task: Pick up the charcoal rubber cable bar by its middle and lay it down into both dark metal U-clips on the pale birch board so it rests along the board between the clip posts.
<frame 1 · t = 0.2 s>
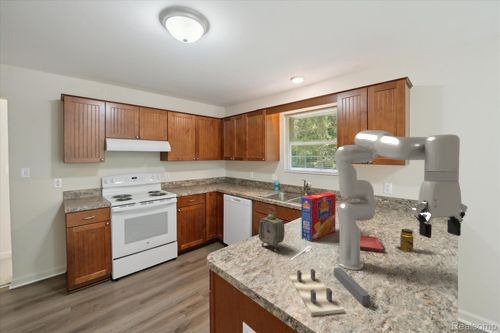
hand: (439, 235, 63), 31 cm above the counter, tool pointing down, fingers open, 9 cm apart
cable bar: (350, 289, 88), on the counter
condiment: (404, 250, 124), on the counter
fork: (300, 254, 120), on the counter
tabletop clock: (271, 247, 129), on the counter
pasta box: (319, 235, 148), on the counter
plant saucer: (363, 246, 131), on the counter
clip board: (313, 292, 86), on the counter
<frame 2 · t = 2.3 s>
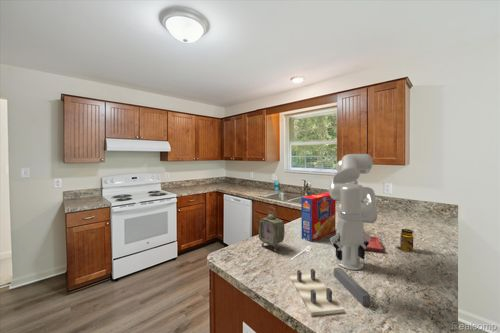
hand: (350, 258, 87), 13 cm above the counter, tool pointing down, fingers open, 9 cm apart
nothing on the counter moved.
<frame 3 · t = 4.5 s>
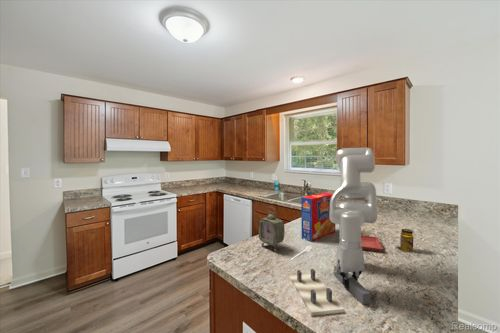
hand: (350, 286, 88), 1 cm above the counter, tool pointing down, fingers closed on cable bar, 3 cm apart
cable bar: (350, 287, 88), on the counter, touching gripper
everything else where it was.
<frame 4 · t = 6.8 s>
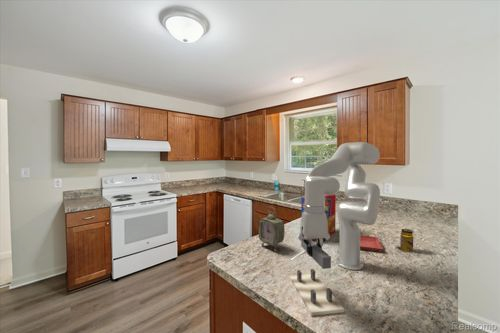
hand: (314, 254, 85), 16 cm above the counter, tool pointing down, fingers closed on cable bar, 3 cm apart
cable bar: (314, 255, 85), point 15 cm above the counter, touching gripper
everything else where it was.
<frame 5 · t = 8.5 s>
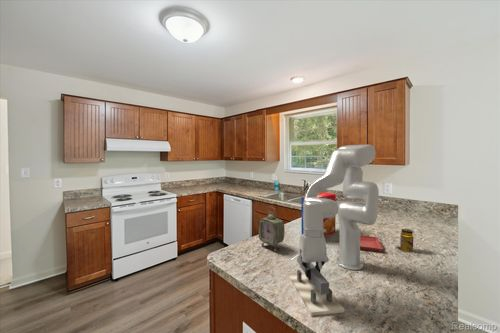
hand: (312, 277, 85), 6 cm above the counter, tool pointing down, fingers closed on cable bar, 3 cm apart
cable bar: (312, 278, 85), point 6 cm above the counter, touching gripper
everything else where it was.
when the fingers open (3 cm above the counter, at t = 9.8 s): cable bar drops 1 cm, resting on clip board.
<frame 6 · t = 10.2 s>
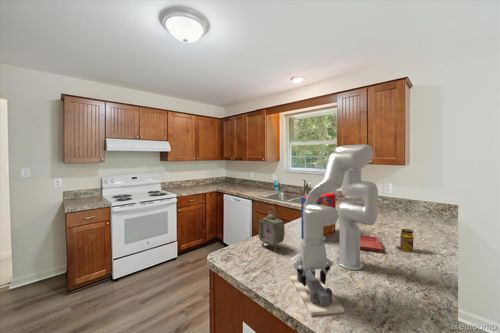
hand: (313, 283, 85), 4 cm above the counter, tool pointing down, fingers open, 7 cm apart
cable bar: (313, 289, 85), point 1 cm above the counter, touching clip board
everything else where it was.
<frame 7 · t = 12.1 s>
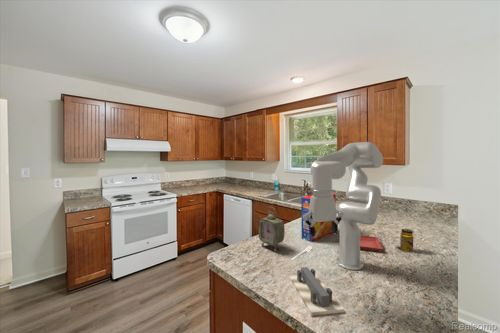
hand: (323, 234, 88), 22 cm above the counter, tool pointing down, fingers open, 9 cm apart
nothing on the counter moved.
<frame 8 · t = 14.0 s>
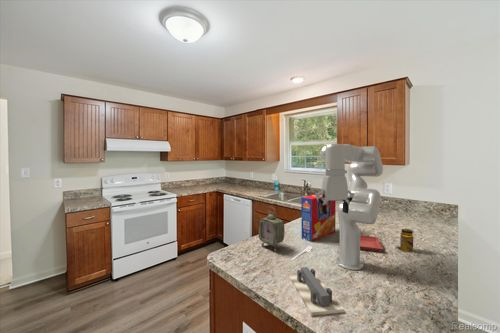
hand: (334, 213, 91), 30 cm above the counter, tool pointing down, fingers open, 9 cm apart
nothing on the counter moved.
at the end: cable bar 0.2 cm off-centre on the clip board, point 1.2 cm above the clip board's base; cable bar tilted 0°; the gripper is holding nothing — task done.
